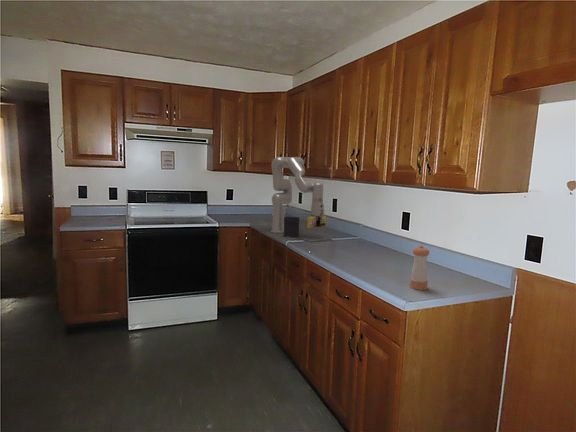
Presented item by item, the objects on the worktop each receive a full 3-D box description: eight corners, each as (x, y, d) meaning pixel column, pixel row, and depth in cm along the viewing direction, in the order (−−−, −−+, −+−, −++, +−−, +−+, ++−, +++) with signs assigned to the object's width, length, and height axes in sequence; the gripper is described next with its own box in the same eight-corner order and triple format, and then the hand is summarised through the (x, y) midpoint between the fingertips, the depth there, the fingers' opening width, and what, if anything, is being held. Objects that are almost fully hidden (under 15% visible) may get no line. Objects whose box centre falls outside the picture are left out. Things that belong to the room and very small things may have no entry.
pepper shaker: (420, 291, 160) (423, 248, 158) (406, 286, 166) (409, 245, 164) (430, 288, 165) (433, 246, 162) (416, 283, 170) (419, 243, 168)
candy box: (308, 228, 261) (308, 217, 260) (307, 228, 263) (307, 216, 262) (326, 226, 270) (326, 215, 269) (324, 226, 272) (324, 215, 271)
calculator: (298, 236, 279) (299, 217, 277) (297, 237, 275) (298, 217, 273) (285, 235, 282) (285, 216, 280) (283, 236, 278) (283, 217, 275)
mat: (300, 239, 267) (300, 238, 267) (321, 237, 278) (321, 236, 278) (311, 242, 258) (311, 241, 257) (331, 239, 268) (331, 238, 268)
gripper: (328, 200, 259) (327, 226, 262) (314, 199, 272) (314, 223, 275) (320, 201, 255) (319, 227, 258) (306, 199, 268) (306, 224, 271)
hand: (316, 225), depth 266 cm, fingers closed on candy box, 2 cm apart
